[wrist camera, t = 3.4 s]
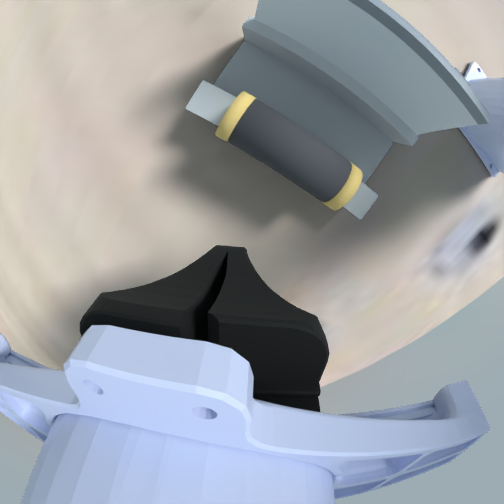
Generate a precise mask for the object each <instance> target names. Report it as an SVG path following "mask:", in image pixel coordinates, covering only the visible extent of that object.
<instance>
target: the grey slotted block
mask: <svg viewBox="0 0 504 504" xmlns="http://www.w3.org/2000/svg"><path fill="white" fill-rule="evenodd" d="M242 29H243V34H244V38H245V41H244V42H243V43H242V45H241V46H240V47H239V49H238V50H237V51H236V53H235V54H234V56H233V57H232V58H231V60H230V61H229V62H228V64H227V65H226V67H225V68H224V70H223V71H222V73H221V74H220V75H219V77H218V78H217V80H216V81H215V83H214V84H213V85H212V84H210V83H208V82H206V81H204V80H203V81H202V82H201V84H200V85H199V87H198V88H197V90H196V92H195V93H194V95H193V96H192V98H191V100H190V101H189V103H188V105H187V106H186V108H185V109H187V110H189V111H191V112H193V113H195V114H197V115H199V116H200V117H202V118H204V119H206V120H208V121H210V122H212V123H213V124H215V125H217V126H218V125H219V123H220V122H221V120H222V118H223V116H224V115H225V113H226V111H227V110H228V108H229V107H230V106H231V104H232V103H233V101H234V100H235V99H236V98H237V96H238V95H239V94H240V93H241V92H243V91H245V92H247V93H248V94H250V95H252V96H254V97H255V98H256V99H257V100H259V101H261V102H262V103H264V104H266V105H267V106H269V107H271V108H272V109H274V110H276V111H277V112H279V113H281V114H282V115H284V116H285V117H287V118H288V119H290V120H292V121H293V122H295V123H296V124H298V125H299V126H301V127H302V128H304V129H305V130H307V131H308V132H309V133H311V134H312V135H314V136H315V137H317V138H318V139H319V140H321V141H322V142H324V143H325V144H326V145H328V146H329V147H331V148H332V149H333V150H335V151H336V152H337V153H339V154H340V155H341V156H343V157H344V158H345V159H346V160H348V161H350V162H352V163H353V164H354V165H355V166H357V167H358V168H359V169H360V170H361V171H362V174H363V176H362V181H361V184H360V186H359V188H358V190H357V192H356V193H355V195H354V196H353V197H352V199H351V200H350V201H349V202H348V203H347V204H346V205H345V206H343V207H344V208H345V209H347V210H348V211H349V212H351V213H352V214H353V215H355V216H356V217H357V218H359V219H360V220H361V219H362V218H363V217H364V215H365V214H366V213H367V211H368V210H369V209H370V207H371V206H372V205H373V203H374V202H375V200H376V199H377V198H378V195H377V194H376V193H375V192H374V191H373V190H371V189H370V188H369V187H368V186H367V185H365V183H366V182H367V180H368V179H369V177H370V176H371V175H372V173H373V172H374V170H375V169H376V168H377V166H378V165H379V163H380V162H381V160H382V159H383V158H384V156H385V155H386V153H387V152H388V150H389V149H390V147H391V146H392V144H393V143H400V144H405V145H410V146H414V144H415V143H416V141H417V140H418V138H419V137H420V136H419V135H416V134H415V132H414V131H413V130H412V129H411V128H410V127H409V126H408V125H407V124H406V123H404V122H403V121H402V120H401V119H400V118H399V117H398V116H397V115H396V114H395V113H394V112H393V111H392V110H391V109H390V108H388V107H387V106H386V105H385V104H384V103H383V102H382V101H380V100H379V99H378V98H377V97H376V96H375V95H373V94H372V93H371V92H370V91H369V90H367V89H366V88H365V87H364V86H362V85H361V84H360V83H358V82H357V81H356V80H355V79H353V78H352V77H351V76H349V75H348V74H347V73H345V72H344V71H342V70H341V69H340V68H338V67H337V66H335V65H334V64H332V63H331V62H330V61H328V60H327V59H325V58H324V57H322V56H320V55H319V54H317V53H316V52H314V51H313V50H311V49H309V48H308V47H306V46H304V45H303V44H301V43H299V42H298V41H296V40H294V39H292V38H291V37H289V36H287V35H285V34H283V33H281V32H279V31H278V30H276V29H274V28H272V27H270V26H268V25H266V24H264V23H262V22H259V21H257V20H255V18H254V17H252V16H250V17H249V18H248V19H247V20H246V22H245V23H244V24H243V25H242Z"/></svg>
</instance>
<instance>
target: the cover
mask: <svg viewBox="0 0 504 504" xmlns="http://www.w3.org/2000/svg"><path fill="white" fill-rule="evenodd" d="M255 20H257V21H259V22H262V23H264V24H266V25H268V26H270V27H272V28H274V29H276V30H278V31H279V32H281V33H283V34H285V35H287V36H289V37H291V38H292V39H294V40H296V41H298V42H299V43H301V44H303V45H304V46H306V47H308V48H309V49H311V50H313V51H314V52H316V53H317V54H319V55H320V56H322V57H324V58H325V59H327V60H328V61H330V62H331V63H332V64H334V65H335V66H337V67H338V68H340V69H341V70H342V71H344V72H345V73H347V74H348V75H349V76H351V77H352V78H353V79H355V80H356V81H357V82H358V83H360V84H361V85H362V86H364V87H365V88H366V89H367V90H369V91H370V92H371V93H372V94H373V95H375V96H376V97H377V98H378V99H379V100H380V101H382V102H383V103H384V104H385V105H386V106H387V107H388V108H390V109H391V110H392V111H393V112H394V113H395V114H396V115H397V116H398V117H399V118H400V119H401V120H402V121H403V122H404V123H406V124H407V125H408V126H409V127H410V128H411V129H412V130H413V131H414V132H415V134H416V135H419V134H424V133H429V132H435V131H440V130H446V129H452V128H458V127H465V126H472V125H481V124H489V119H490V115H489V113H488V111H487V110H486V109H485V107H484V106H483V104H482V103H481V101H480V100H479V99H478V97H477V96H476V94H475V93H474V92H473V90H472V89H471V88H470V84H469V83H468V82H467V80H466V79H465V78H464V77H463V75H462V74H461V73H460V72H459V71H458V69H457V68H454V67H453V66H452V65H451V64H450V63H449V62H448V60H447V59H446V58H445V57H444V56H443V55H442V54H441V53H440V52H439V51H438V50H437V49H436V48H435V47H434V46H433V45H432V44H431V43H430V42H429V41H428V40H427V39H426V38H425V37H424V36H423V35H422V34H421V33H420V32H419V31H417V30H416V29H415V28H414V27H413V26H412V25H411V24H410V23H408V22H407V21H406V20H405V19H404V18H402V17H401V16H400V15H399V14H397V13H396V12H395V11H394V10H392V9H391V8H390V7H388V6H387V5H386V4H384V3H383V2H382V1H380V0H259V1H258V6H257V10H256V14H255Z"/></svg>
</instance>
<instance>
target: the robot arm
mask: <svg viewBox="0 0 504 504" xmlns="http://www.w3.org/2000/svg"><path fill="white" fill-rule="evenodd" d="M477 69H478V70H477ZM464 78H465V79H466V80H467V82H468V83H469V84H470V88H471V89H472V90H473V92H474V93H475V94H476V96H477V97H478V99H479V100H480V101H481V103H482V104H483V106H484V107H485V109H486V110H487V111H488V113H489V115H490V119H489V124H481V125H472V126H465V127H458V128H459V129H460V130H461V132H462V133H463V134H464V136H465V137H466V138H467V140H468V141H469V143H470V144H471V145H472V147H473V148H474V150H475V151H476V153H477V154H478V155H479V157H480V159H481V160H482V162H483V163H484V165H485V166H486V168H487V169H488V171H489V173H490V174H491V176H493V177H496V175H497V174H498V172H502V173H504V78H487V76H486V75H485V73H484V72H483V71H482V69H481V68H480V67H479V65H478V64H477V63H476V62H471V64H470V66H469V68H468V70H467V72H466V74H465V76H464ZM80 333H81V339H80V340H79V342H78V343H77V345H76V346H75V348H74V349H73V351H72V353H71V354H70V356H69V357H68V359H67V360H66V362H65V364H64V365H63V367H64V370H55V369H51V368H48V367H46V366H44V365H42V364H39V363H37V362H35V361H33V360H31V359H29V358H27V357H24V356H22V355H20V354H19V353H17V352H15V351H13V350H11V347H10V345H9V343H8V341H7V340H6V338H5V337H4V336H3V335H2V334H1V333H0V411H1V412H2V413H3V414H4V415H6V416H7V417H8V418H10V419H11V420H13V421H14V422H15V423H16V424H18V425H19V426H20V427H22V428H23V429H25V430H26V431H28V432H29V433H30V434H32V435H33V436H35V437H36V438H38V439H39V440H41V441H42V442H44V444H43V447H42V449H41V451H40V453H39V456H38V458H37V460H36V463H35V465H34V468H33V470H32V473H31V475H30V478H29V481H28V483H27V486H26V489H25V492H24V495H23V498H22V501H21V504H335V499H338V498H343V497H348V496H352V495H356V494H361V493H365V492H368V491H372V490H375V489H379V488H382V487H385V486H388V485H392V484H395V483H398V482H400V481H403V480H406V479H409V478H411V477H414V476H417V475H419V474H422V473H425V472H427V471H429V470H432V469H434V468H437V467H439V466H442V465H444V464H446V463H449V462H451V461H452V460H453V459H455V458H456V457H457V456H459V455H460V454H461V453H463V452H464V451H465V450H467V449H468V448H469V447H470V446H471V445H473V444H474V443H475V442H476V441H478V440H479V439H480V438H481V437H482V436H483V435H484V434H485V433H487V432H488V431H489V429H490V426H489V424H488V422H487V419H486V417H485V415H484V413H483V411H482V409H481V407H480V404H479V402H478V401H477V399H476V396H475V394H474V393H473V391H472V389H471V387H470V385H469V383H468V381H466V380H465V381H461V382H457V383H454V384H449V385H447V386H445V387H444V388H442V389H441V390H440V391H439V392H438V393H437V394H436V395H435V397H434V399H433V400H431V401H426V402H422V403H418V404H412V405H407V406H402V407H397V408H391V409H385V410H378V411H370V412H361V413H351V414H339V415H335V414H329V413H322V412H320V406H319V399H318V396H319V395H320V385H319V381H320V379H321V376H322V374H323V372H324V369H325V367H326V364H327V362H328V357H329V349H328V343H327V340H326V336H325V334H324V331H323V329H322V327H321V325H320V322H319V320H318V318H317V316H315V315H313V314H311V313H308V312H306V311H304V310H302V309H299V308H297V307H296V306H294V305H292V304H290V303H289V302H287V301H286V300H284V299H283V298H281V297H280V296H279V295H277V294H276V293H275V292H274V291H273V290H271V289H270V288H269V287H268V286H267V285H266V284H265V282H264V281H263V280H262V279H261V277H260V276H259V275H258V273H257V272H256V270H255V269H254V267H253V265H252V263H251V261H250V259H249V257H248V254H247V250H246V249H245V248H244V247H232V246H220V245H216V246H215V247H214V248H212V249H211V250H210V251H208V252H207V253H206V254H205V255H203V256H202V257H201V258H199V259H198V260H196V261H195V262H193V263H192V264H190V265H189V266H187V267H186V268H184V269H182V270H180V271H179V272H177V273H175V274H173V275H170V276H168V277H166V278H163V279H161V280H158V281H155V282H153V283H150V284H147V285H143V286H139V287H135V288H131V289H126V290H120V291H113V292H105V293H101V294H100V295H99V296H98V298H97V299H96V300H95V302H94V303H93V304H92V305H91V307H90V308H89V309H88V311H87V312H86V313H85V314H84V316H83V317H82V320H81V322H80Z"/></svg>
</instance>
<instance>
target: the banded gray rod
mask: <svg viewBox="0 0 504 504" xmlns="http://www.w3.org/2000/svg"><path fill="white" fill-rule="evenodd" d="M215 136H217V137H219V138H221V139H222V140H224V141H226V142H229V143H231V144H233V145H234V146H236V147H238V148H240V149H241V150H243V151H245V152H246V153H248V154H250V155H251V156H253V157H255V158H256V159H258V160H259V161H261V162H263V163H264V164H266V165H268V166H269V167H271V168H272V169H274V170H275V171H277V172H279V173H280V174H282V175H283V176H285V177H286V178H288V179H289V180H291V181H292V182H294V183H295V184H297V185H298V186H300V187H301V188H303V189H304V190H306V191H307V192H309V193H310V194H312V195H313V196H315V197H316V198H317V199H319V200H320V201H321V202H322V203H323V204H325V205H326V206H327V207H329V208H330V209H332V210H338V209H340V208H342V207H343V206H345V205H346V204H347V203H348V202H349V201H350V200H351V199H352V197H353V196H354V195H355V193H356V192H357V190H358V188H359V186H360V184H361V181H362V176H363V174H362V171H361V170H360V169H359V168H358V167H357V166H355V165H354V164H353V163H352V162H350V161H348V160H346V159H345V158H344V157H343V156H341V155H340V154H339V153H337V152H336V151H335V150H333V149H332V148H331V147H329V146H328V145H326V144H325V143H324V142H322V141H321V140H319V139H318V138H317V137H315V136H314V135H312V134H311V133H309V132H308V131H307V130H305V129H304V128H302V127H301V126H299V125H298V124H296V123H295V122H293V121H292V120H290V119H288V118H287V117H285V116H284V115H282V114H281V113H279V112H277V111H276V110H274V109H272V108H271V107H269V106H267V105H266V104H264V103H262V102H261V101H259V100H257V99H256V98H255V97H254V96H252V95H250V94H248V93H247V92H245V91H243V92H241V93H240V94H239V95H238V96H237V98H236V99H235V100H234V101H233V103H232V104H231V106H230V107H229V108H228V110H227V111H226V113H225V115H224V116H223V118H222V120H221V122H220V123H219V125H218V128H217V130H216V133H215Z"/></svg>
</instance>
